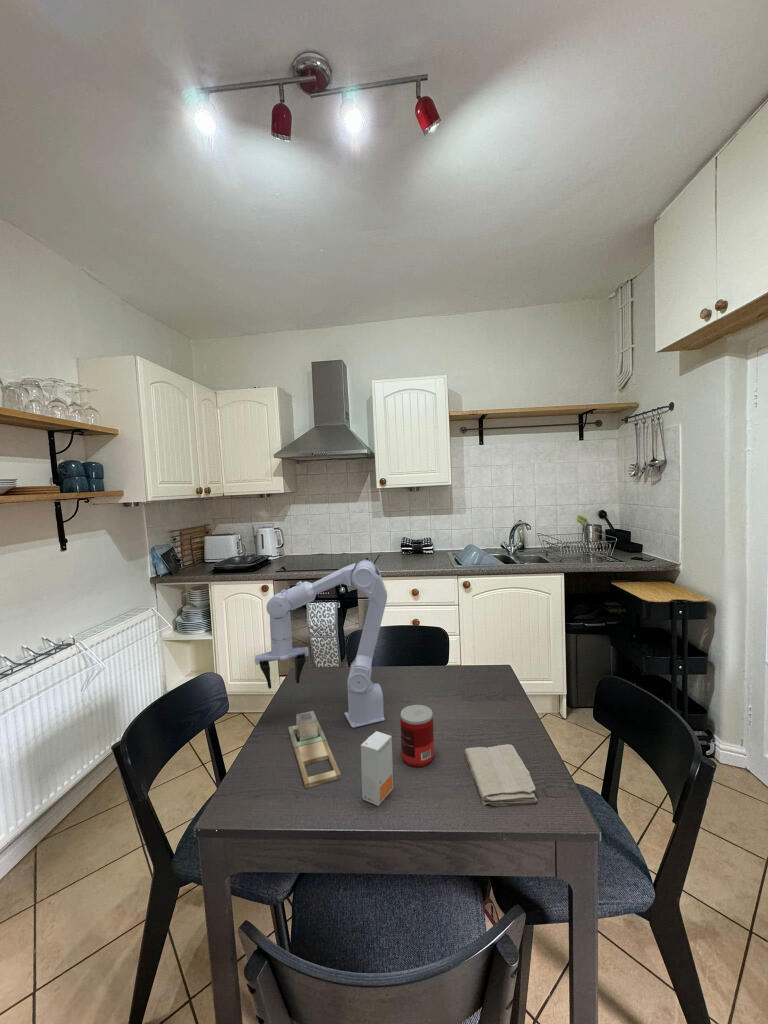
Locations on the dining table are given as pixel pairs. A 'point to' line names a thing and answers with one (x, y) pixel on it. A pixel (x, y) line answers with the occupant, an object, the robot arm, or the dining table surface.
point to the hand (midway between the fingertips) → (283, 684)
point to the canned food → (417, 735)
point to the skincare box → (376, 768)
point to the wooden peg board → (314, 757)
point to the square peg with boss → (306, 726)
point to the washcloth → (500, 775)
